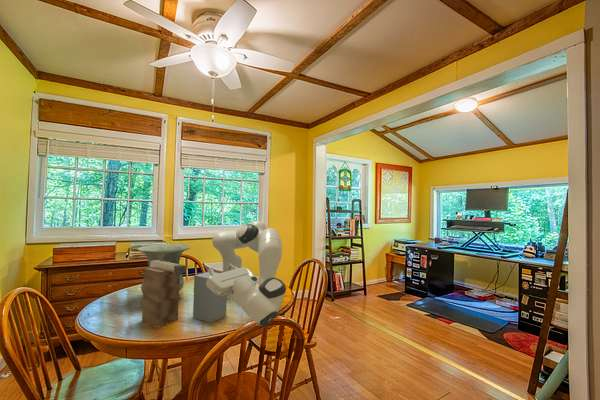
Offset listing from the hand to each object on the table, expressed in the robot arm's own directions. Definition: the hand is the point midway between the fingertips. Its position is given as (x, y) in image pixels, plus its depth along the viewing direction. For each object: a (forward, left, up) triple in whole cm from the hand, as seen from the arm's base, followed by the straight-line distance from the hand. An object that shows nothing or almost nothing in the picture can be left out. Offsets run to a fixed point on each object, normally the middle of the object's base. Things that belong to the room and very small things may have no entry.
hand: (219, 266), depth 108 cm
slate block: (-16, -22, -30) cm, 41 cm away
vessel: (-17, -61, -30) cm, 70 cm away
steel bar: (0, -33, -6) cm, 34 cm away
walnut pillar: (0, -37, -30) cm, 48 cm away
